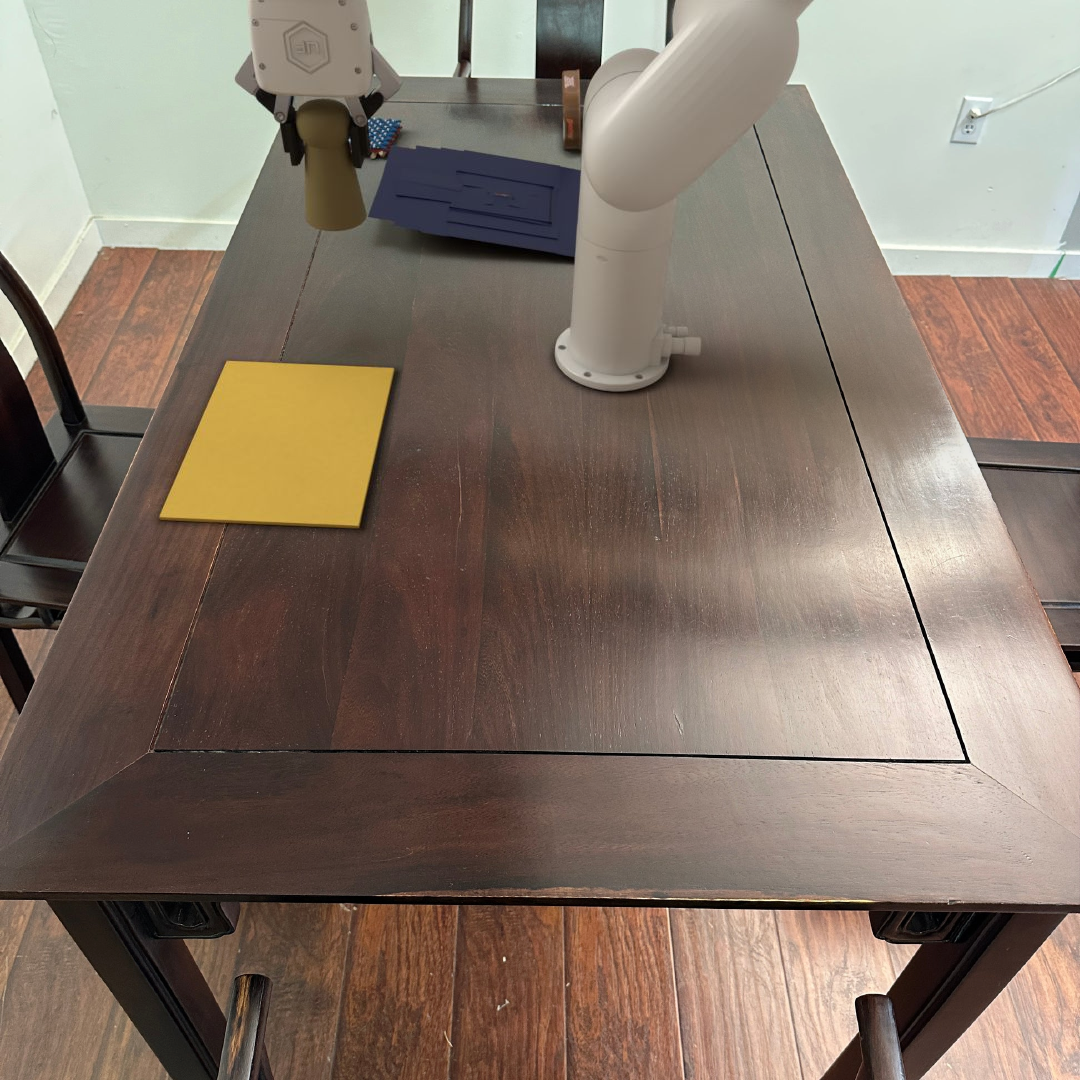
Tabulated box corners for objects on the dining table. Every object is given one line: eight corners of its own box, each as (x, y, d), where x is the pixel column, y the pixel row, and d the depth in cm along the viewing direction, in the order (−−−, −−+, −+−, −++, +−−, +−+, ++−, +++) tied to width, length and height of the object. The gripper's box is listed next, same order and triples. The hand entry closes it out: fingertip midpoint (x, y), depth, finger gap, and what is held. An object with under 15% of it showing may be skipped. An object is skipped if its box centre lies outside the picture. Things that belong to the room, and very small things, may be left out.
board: (394, 370, 104) (394, 367, 104) (359, 528, 87) (358, 525, 87) (227, 363, 104) (226, 360, 104) (159, 520, 87) (158, 517, 87)
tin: (581, 159, 141) (584, 100, 135) (559, 158, 141) (562, 100, 135) (579, 117, 152) (582, 61, 146) (559, 116, 152) (562, 60, 146)
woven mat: (335, 124, 147) (334, 111, 145) (404, 131, 146) (403, 117, 145) (315, 154, 140) (313, 140, 138) (386, 161, 139) (385, 147, 137)
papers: (392, 158, 136) (393, 133, 134) (600, 192, 139) (605, 168, 136) (364, 244, 120) (365, 217, 117) (602, 281, 122) (608, 256, 120)
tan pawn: (355, 234, 94) (342, 120, 86) (296, 227, 94) (277, 113, 86) (374, 206, 98) (363, 94, 90) (317, 199, 99) (302, 87, 91)
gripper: (184, -47, 76) (230, 175, 89) (400, -38, 77) (414, 182, 90) (208, -73, 82) (248, 140, 95) (410, -64, 82) (422, 147, 95)
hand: (328, 159), depth 92 cm, fingers closed on tan pawn, 5 cm apart
